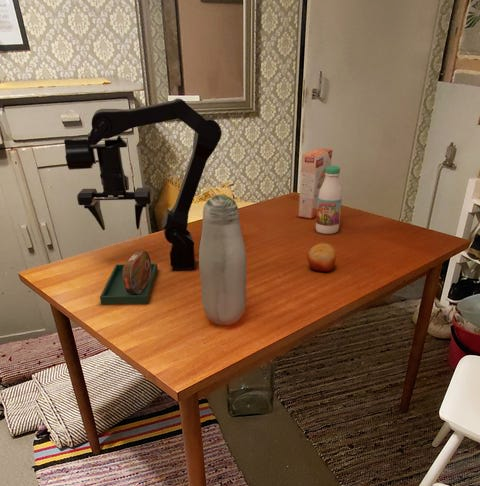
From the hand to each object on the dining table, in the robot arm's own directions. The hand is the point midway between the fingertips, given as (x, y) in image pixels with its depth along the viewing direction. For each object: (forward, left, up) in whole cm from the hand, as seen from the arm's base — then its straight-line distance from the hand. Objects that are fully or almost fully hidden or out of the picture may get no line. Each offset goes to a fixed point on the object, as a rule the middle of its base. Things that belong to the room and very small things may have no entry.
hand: (121, 229), depth 133 cm
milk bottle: (-62, -32, -12) cm, 71 cm away
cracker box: (-60, -52, -12) cm, 80 cm away
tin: (-5, +12, -12) cm, 18 cm away
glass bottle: (-28, +31, -12) cm, 44 cm away
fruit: (-55, +1, -12) cm, 56 cm away
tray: (-3, +10, -12) cm, 16 cm away
